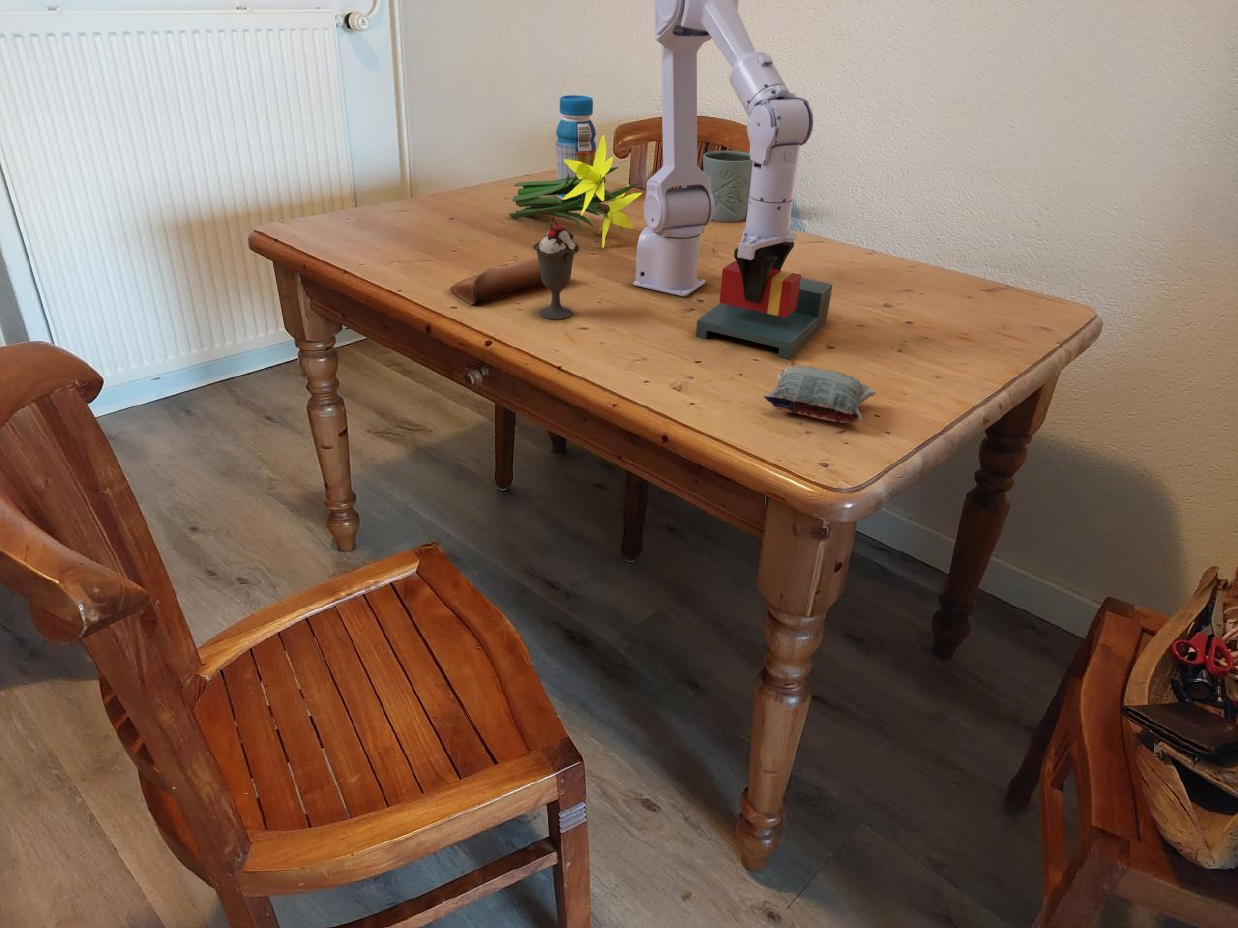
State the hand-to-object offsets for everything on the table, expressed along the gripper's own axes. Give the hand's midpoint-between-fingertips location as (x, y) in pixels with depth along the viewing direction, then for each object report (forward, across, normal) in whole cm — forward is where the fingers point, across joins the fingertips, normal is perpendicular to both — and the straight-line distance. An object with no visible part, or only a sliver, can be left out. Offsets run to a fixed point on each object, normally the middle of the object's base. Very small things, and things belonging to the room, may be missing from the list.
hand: (758, 296), depth 121 cm
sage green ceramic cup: (+6, +56, +29) cm, 63 cm away
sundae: (+6, -8, +28) cm, 30 cm away
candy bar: (+1, 0, 0) cm, 1 cm away
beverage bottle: (+6, +50, +61) cm, 79 cm away
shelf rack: (+6, +4, 0) cm, 7 cm away
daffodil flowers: (+6, +26, +49) cm, 56 cm away
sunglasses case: (+6, -4, +40) cm, 41 cm away
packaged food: (+6, -16, -15) cm, 23 cm away
